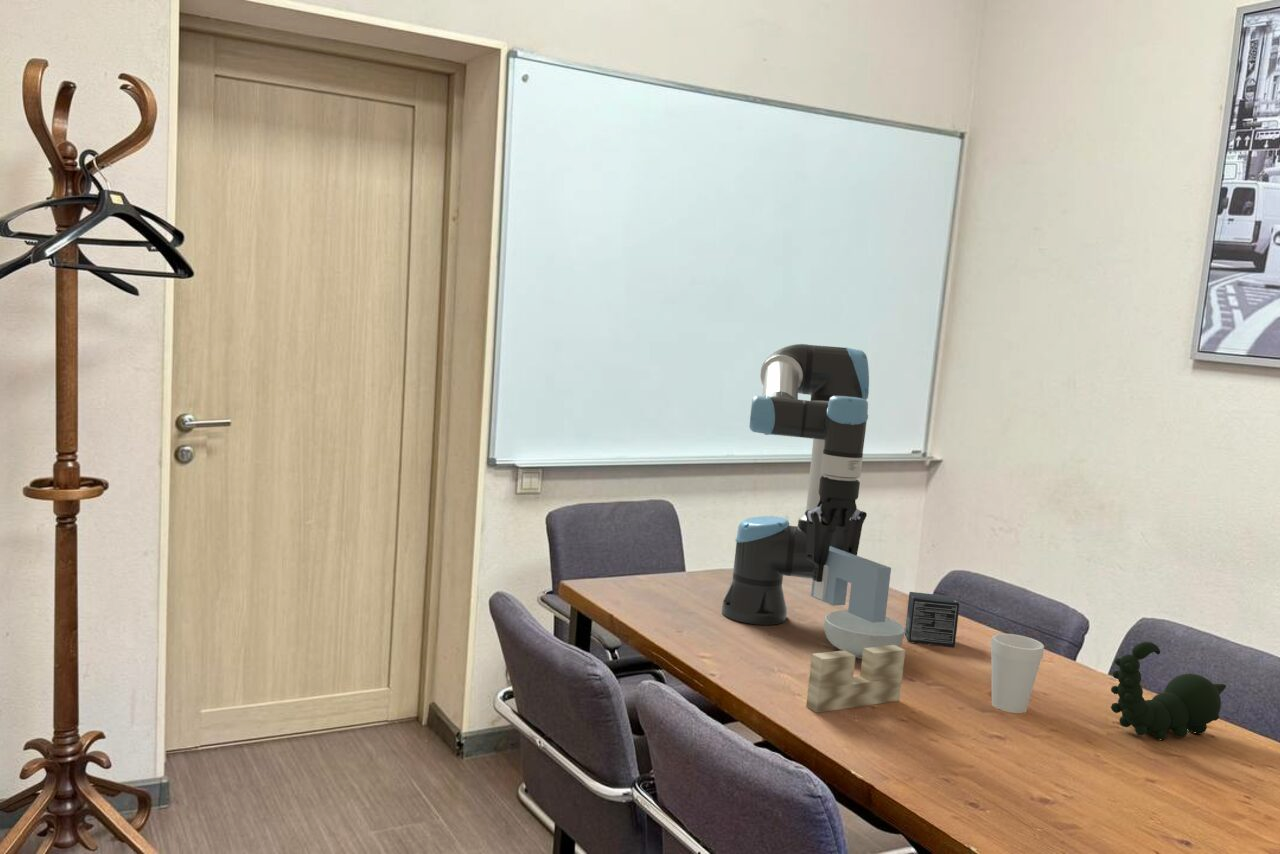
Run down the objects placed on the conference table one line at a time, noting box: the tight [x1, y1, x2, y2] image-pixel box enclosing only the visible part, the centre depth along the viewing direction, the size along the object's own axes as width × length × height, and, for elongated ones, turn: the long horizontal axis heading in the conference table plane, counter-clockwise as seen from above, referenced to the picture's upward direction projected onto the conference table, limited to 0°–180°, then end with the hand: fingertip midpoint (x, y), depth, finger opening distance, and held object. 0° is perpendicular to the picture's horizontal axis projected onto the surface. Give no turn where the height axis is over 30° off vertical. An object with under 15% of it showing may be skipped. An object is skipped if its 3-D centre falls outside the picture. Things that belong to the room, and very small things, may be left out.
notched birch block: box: [805, 645, 906, 714], centre depth 199 cm, size 20×3×10 cm, turn 120°
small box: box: [904, 591, 961, 648], centre depth 244 cm, size 11×6×10 cm, turn 84°
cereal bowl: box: [823, 609, 906, 660], centre depth 230 cm, size 17×17×7 cm
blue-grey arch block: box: [810, 546, 892, 623], centre depth 201 cm, size 18×3×10 cm, turn 28°
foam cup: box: [989, 633, 1045, 714], centre depth 205 cm, size 10×9×13 cm
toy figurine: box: [1110, 641, 1227, 741], centre depth 198 cm, size 9×19×25 cm
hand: (826, 597), depth 207 cm, fingers closed on blue-grey arch block, 3 cm apart
